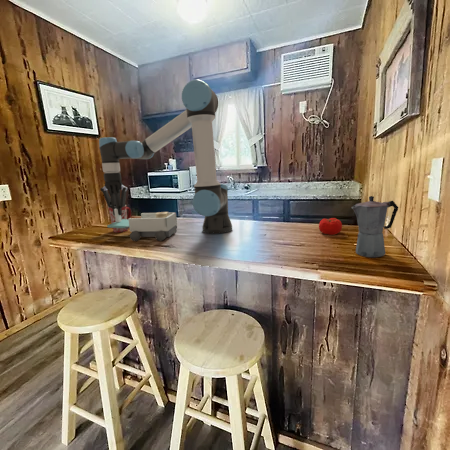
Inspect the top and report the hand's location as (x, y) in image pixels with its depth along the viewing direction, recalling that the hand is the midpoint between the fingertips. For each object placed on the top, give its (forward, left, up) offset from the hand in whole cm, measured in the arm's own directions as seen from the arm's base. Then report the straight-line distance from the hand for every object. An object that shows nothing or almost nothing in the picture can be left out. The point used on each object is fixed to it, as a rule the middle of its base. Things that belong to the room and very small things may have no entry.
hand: (118, 221), depth 125 cm
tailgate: (-8, 0, -1) cm, 8 cm away
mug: (+5, -12, -7) cm, 15 cm away
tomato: (-100, -3, -8) cm, 100 cm away
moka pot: (-106, +25, -7) cm, 109 cm away
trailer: (-18, 0, -7) cm, 19 cm away
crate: (-22, -1, -1) cm, 22 cm away
